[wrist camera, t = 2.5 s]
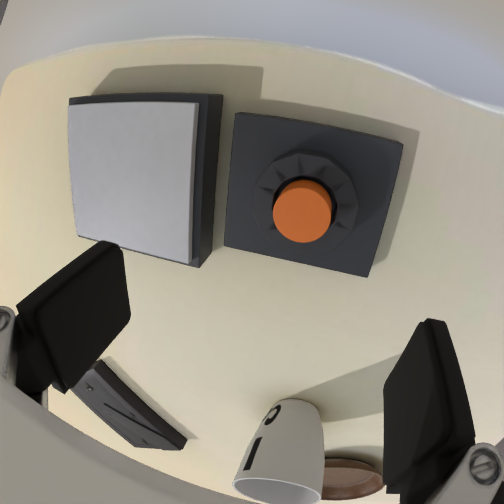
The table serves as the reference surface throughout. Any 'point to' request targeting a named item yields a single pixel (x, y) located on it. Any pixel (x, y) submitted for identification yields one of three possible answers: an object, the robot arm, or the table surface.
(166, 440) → the picture frame
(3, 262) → the table surface
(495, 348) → the table surface
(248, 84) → the table surface
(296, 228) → the button
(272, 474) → the cup
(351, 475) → the saucer
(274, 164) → the panel
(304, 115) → the table surface
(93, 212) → the scale
